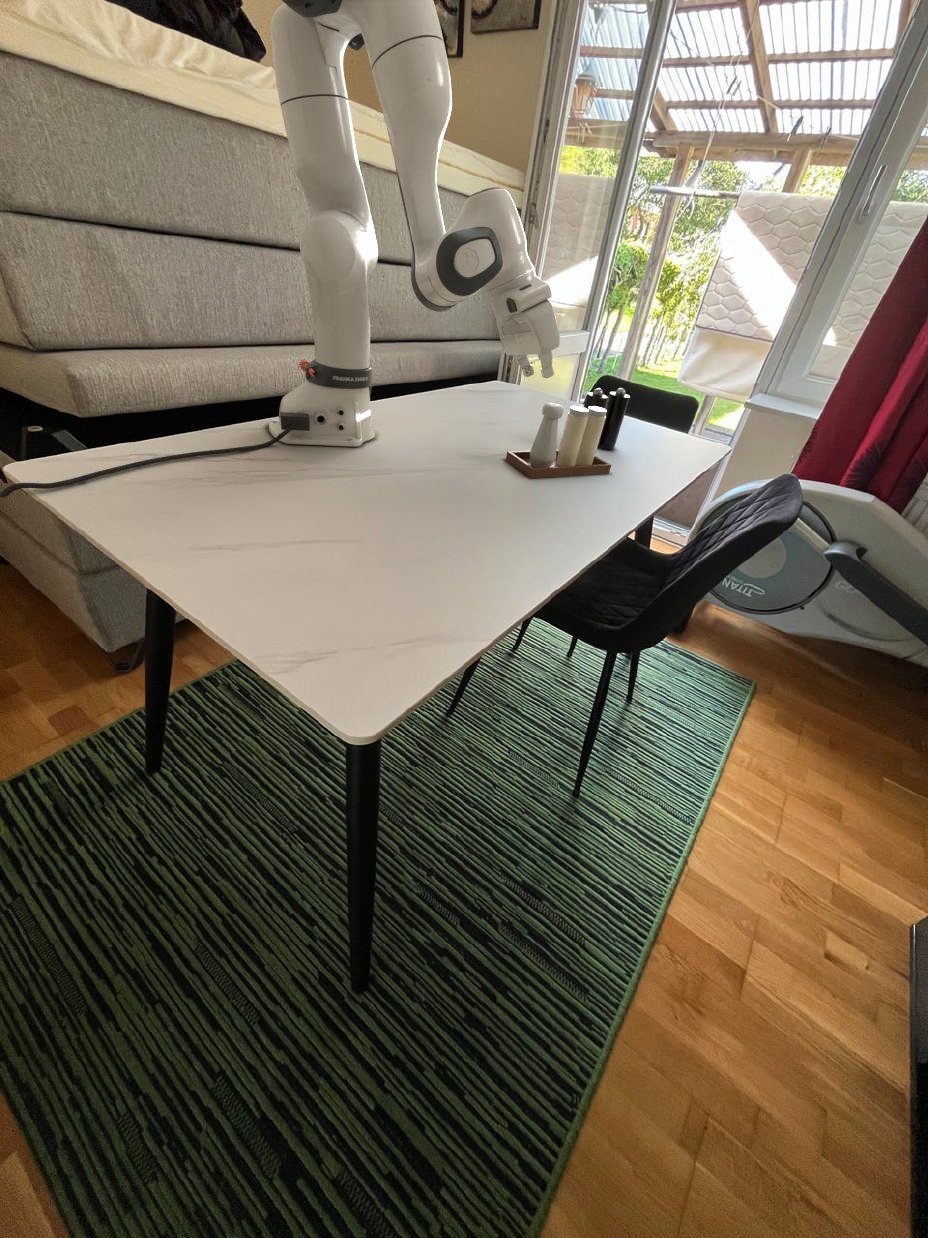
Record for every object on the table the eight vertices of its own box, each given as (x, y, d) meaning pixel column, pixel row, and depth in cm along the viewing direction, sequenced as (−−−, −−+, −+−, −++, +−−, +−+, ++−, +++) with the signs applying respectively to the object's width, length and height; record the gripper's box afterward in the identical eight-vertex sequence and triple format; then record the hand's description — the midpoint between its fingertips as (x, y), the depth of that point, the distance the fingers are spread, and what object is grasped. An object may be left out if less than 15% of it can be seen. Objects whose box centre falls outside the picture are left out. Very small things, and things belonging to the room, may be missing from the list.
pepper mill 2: (603, 450, 131) (621, 390, 123) (590, 443, 135) (607, 384, 126) (617, 450, 133) (636, 391, 125) (605, 443, 137) (622, 385, 128)
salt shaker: (552, 463, 116) (567, 403, 109) (554, 472, 112) (569, 410, 104) (527, 459, 116) (540, 398, 109) (527, 467, 112) (540, 405, 104)
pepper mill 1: (580, 453, 127) (597, 391, 119) (568, 446, 130) (584, 385, 122) (596, 452, 129) (614, 391, 121) (584, 445, 133) (600, 385, 124)
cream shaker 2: (580, 467, 117) (596, 411, 110) (569, 460, 120) (583, 405, 113) (595, 466, 119) (611, 411, 112) (584, 459, 122) (599, 405, 115)
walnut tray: (530, 478, 108) (533, 469, 107) (505, 459, 115) (507, 451, 114) (608, 473, 118) (611, 465, 116) (580, 456, 125) (583, 448, 124)
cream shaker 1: (563, 468, 115) (577, 411, 107) (551, 461, 118) (565, 405, 110) (578, 467, 117) (594, 411, 109) (567, 460, 120) (581, 405, 112)
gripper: (482, 310, 101) (506, 381, 108) (520, 299, 84) (545, 385, 91) (510, 296, 102) (532, 368, 109) (554, 283, 84) (576, 369, 91)
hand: (538, 376), depth 100 cm, fingers open, 8 cm apart
